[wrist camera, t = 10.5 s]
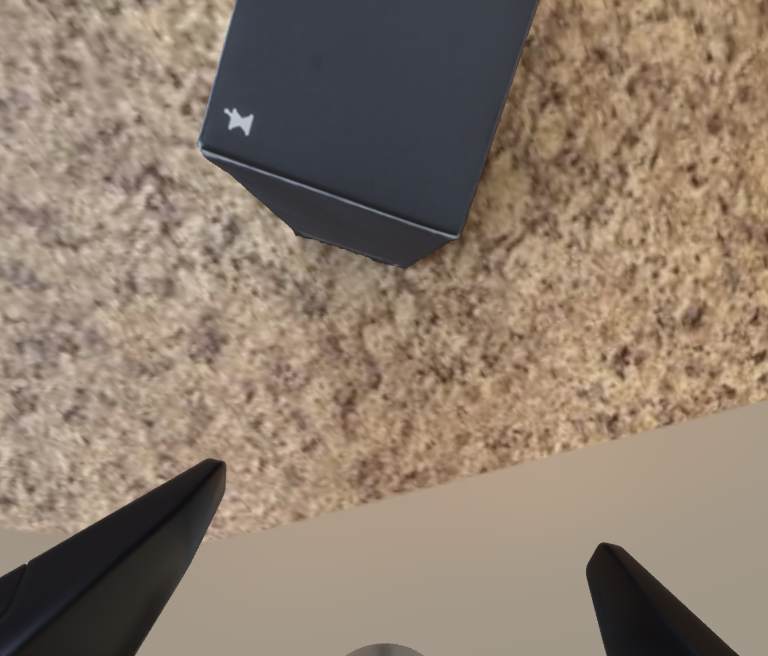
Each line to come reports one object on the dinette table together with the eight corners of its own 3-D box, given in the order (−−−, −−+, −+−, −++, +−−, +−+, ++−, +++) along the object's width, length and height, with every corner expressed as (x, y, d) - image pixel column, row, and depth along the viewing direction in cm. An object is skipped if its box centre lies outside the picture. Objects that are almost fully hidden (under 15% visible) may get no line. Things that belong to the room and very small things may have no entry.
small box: (414, 275, 18) (469, 254, 8) (290, 234, 18) (175, 156, 7) (483, 64, 17) (650, -276, 7) (354, 16, 17) (324, -422, 7)
